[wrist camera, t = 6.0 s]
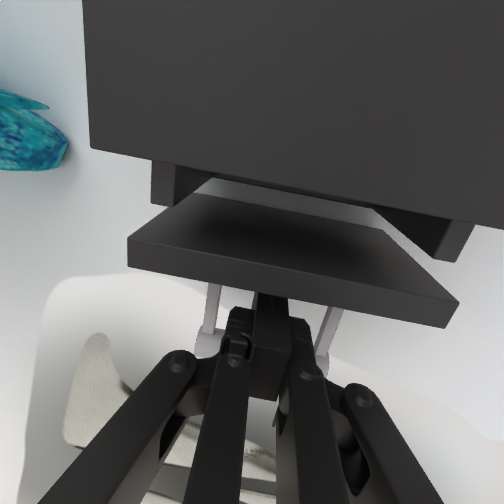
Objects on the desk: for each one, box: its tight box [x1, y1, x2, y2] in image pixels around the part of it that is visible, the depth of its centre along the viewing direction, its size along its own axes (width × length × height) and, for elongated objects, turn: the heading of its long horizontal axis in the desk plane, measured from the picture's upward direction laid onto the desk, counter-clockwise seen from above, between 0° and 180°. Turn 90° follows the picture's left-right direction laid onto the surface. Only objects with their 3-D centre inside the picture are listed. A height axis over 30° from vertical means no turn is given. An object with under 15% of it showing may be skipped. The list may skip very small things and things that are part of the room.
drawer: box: [127, 160, 476, 378], centre depth 12 cm, size 20×12×8 cm, turn 170°
